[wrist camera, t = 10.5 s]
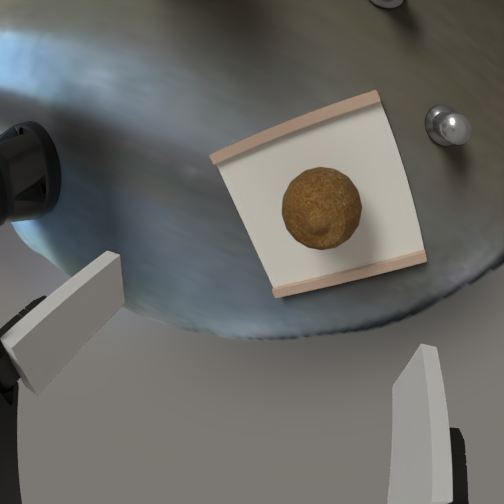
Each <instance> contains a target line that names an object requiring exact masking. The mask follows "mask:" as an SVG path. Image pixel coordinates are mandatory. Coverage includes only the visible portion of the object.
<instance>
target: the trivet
mask: <svg viewBox="0 0 504 504" xmlns="http://www.w3.org/2000/svg"><path fill="white" fill-rule="evenodd" d="M380 101H381V100H380V98H379V95H378V93H377V90H374V91H371V92H368V93H365V94H362V95H359V96H356V97H353V98H350V99H347V100H344V101H341V102H338V103H335V104H332V105H329V106H326V107H324V108H321V109H318V110H315V111H313V112H310V113H307V114H305V115H302V116H299V117H297V118H294V119H292V120H289V121H287V122H284V123H282V124H279V125H277V126H274V127H272V128H269V129H267V130H265V131H262V132H260V133H257V134H255V135H253V136H250V137H248V138H246V139H244V140H241V141H239V142H237V143H235V144H232V145H230V146H228V147H226V148H224V149H221V150H219V151H217V152H215V153H213V154H211V155H209V156H210V158H211V160H212V163H213V165H214V164H217V166H218V169H219V171H220V173H221V175H222V177H223V179H224V182H225V184H226V186H227V188H228V190H229V192H230V195H231V197H232V199H233V201H234V203H235V205H236V208H237V210H238V212H239V214H240V216H241V218H242V221H243V223H244V225H245V227H246V229H247V231H248V234H249V236H250V238H251V240H252V242H253V244H254V247H255V249H256V251H257V253H258V255H259V258H260V260H261V262H262V264H263V266H264V268H265V271H266V273H267V275H268V277H269V279H270V282H271V284H272V286H273V289H272V292H273V294H274V296H275V298H279V297H283V296H288V295H293V294H297V293H302V292H306V291H311V290H315V289H319V288H324V287H328V286H332V285H337V284H341V283H345V282H349V281H354V280H358V279H362V278H366V277H370V276H374V275H378V274H382V273H386V272H390V271H393V270H397V269H401V268H405V267H409V266H412V265H416V264H420V263H423V262H427V259H426V253H425V250H424V246H423V241H422V236H421V232H420V227H419V223H418V219H417V215H416V211H415V207H414V203H413V199H412V195H411V191H410V188H409V184H408V181H407V177H406V174H405V170H404V167H403V164H402V161H401V158H400V154H399V151H398V148H397V145H396V142H395V139H394V137H393V134H392V131H391V128H390V125H389V123H388V120H387V117H386V115H385V112H384V109H383V107H382V104H381V102H380ZM316 167H326V168H332V169H336V170H338V171H339V172H341V173H343V174H344V175H346V176H348V177H349V178H350V180H351V181H352V182H353V184H354V185H355V186H356V188H357V189H358V191H359V195H360V199H361V204H362V211H361V217H360V222H359V226H358V227H357V229H356V230H355V232H354V233H353V235H352V236H351V238H350V239H349V240H347V241H346V242H344V243H343V244H341V245H340V246H338V247H336V248H331V249H326V250H317V249H312V248H308V247H306V246H304V245H302V244H301V243H299V242H297V241H296V240H295V239H294V238H293V237H292V235H291V234H290V233H289V232H288V231H287V229H286V226H285V223H284V220H283V217H282V200H283V196H284V193H285V192H286V190H287V188H288V186H289V184H290V182H291V181H292V180H293V179H295V178H296V177H297V176H298V175H300V174H301V173H302V172H304V171H305V170H308V169H312V168H316Z"/></svg>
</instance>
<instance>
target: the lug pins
mask: <svg viewBox="0 0 504 504" xmlns="http://www.w3.org/2000/svg"><path fill="white" fill-rule="evenodd" d="M370 1H371V2H372V3H373V4H375V5H376V6H378V7H381V8H386V9H392V8H396V7H398V6H400V5H401V4H402V3H403V1H404V0H370ZM425 127H426V131H427V133H428V135H429V136H430V138H431V139H432V140H433V141H435V142H436V143H438V144H440V145H443V146H450V145H453V144H457V145H461V144H464V143H466V142H467V141H468V140H469V138H470V135H471V126H470V123H469V121H468V120H467V119H466V118H465V117H464V116H463V115H460V114H458V113H457V111H456V110H454V109H453V108H451V107H449V106H446V105H437V106H435V107H433V108H431V109H430V110H429V112H428V113H427V115H426V119H425Z"/></svg>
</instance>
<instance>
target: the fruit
mask: <svg viewBox="0 0 504 504" xmlns="http://www.w3.org/2000/svg"><path fill="white" fill-rule="evenodd" d="M361 211H362V204H361V199H360V195H359V191H358V189H357V188H356V186H355V185H354V184H353V182H352V181H351V180H350V178H349V177H348V176H346V175H344V174H343V173H341V172H339V171H338V170H336V169H332V168H326V167H316V168H312V169H308V170H305V171H304V172H302V173H301V174H300V175H298V176H297V177H296V178H295V179H293V180H292V181H291V182H290V184H289V186H288V188H287V190H286V192H285V193H284V196H283V200H282V217H283V220H284V223H285V226H286V229H287V231H288V232H289V233H290V234H291V235H292V237H293V238H294V239H295V240H296V241H297V242H299V243H301V244H302V245H304V246H306V247H308V248H312V249H317V250H326V249H331V248H336V247H338V246H340V245H341V244H343V243H344V242H346V241H347V240H349V239H350V238H351V236H352V235H353V233H354V232H355V230H356V229H357V227H358V226H359V222H360V217H361Z"/></svg>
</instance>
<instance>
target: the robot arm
mask: <svg viewBox="0 0 504 504" xmlns="http://www.w3.org/2000/svg"><path fill="white" fill-rule="evenodd" d="M59 190H60V170H59V163H58V159H57V155H56V151H55V148H54V146H53V143H52V141H51V139H50V137H49V135H48V134H47V132H46V131H45V130H44V129H43V128H42V127H41V126H40V125H39V124H37V123H35V122H32V121H27V122H23V123H20V124H16V125H14V126H12V127H11V128H9V129H8V130H7V131H5V132H4V133H2V134H1V135H0V226H1V225H3V224H5V223H8V222H16V221H25V220H33V219H37V218H40V217H42V216H43V215H45V214H47V213H49V212H50V211H51V210H52V209H53V208H54V206H55V205H56V202H57V200H58V196H59ZM124 304H125V298H124V290H123V281H122V271H121V260H120V255H119V254H116V253H113V252H110V251H106V252H104V253H103V254H102V255H100V256H99V257H98V258H96V259H95V260H94V261H92V262H91V263H90V264H88V265H87V266H86V267H85V268H83V269H82V270H81V271H79V272H78V273H77V274H75V275H74V276H73V277H72V278H70V279H69V280H68V281H67V282H65V283H64V284H63V285H62V286H60V287H59V288H58V289H57V290H55V291H54V292H53V293H52V294H51V295H49V296H48V297H46V296H42V297H40V298H38V299H36V300H34V301H32V302H31V303H30V304H29V305H28V306H26V307H25V309H23V310H22V311H20V312H19V314H18V315H16V316H14V317H13V318H12V319H11V320H10V321H9V322H8V323H6V324H5V325H4V326H3V327H2V328H1V329H0V504H22V501H21V493H20V485H19V474H18V473H19V472H18V457H17V456H18V455H17V407H18V389H19V387H18V382H17V381H18V379H19V378H21V379H22V381H23V383H24V385H25V386H26V387H27V388H28V389H29V390H31V391H32V392H33V393H35V394H36V395H37V396H38V395H39V394H40V393H41V392H42V391H43V389H44V388H45V387H46V386H47V385H48V384H49V383H50V382H51V381H52V379H53V378H54V377H55V376H56V375H57V374H58V373H59V372H60V371H61V370H62V368H63V367H64V366H65V365H66V364H67V363H68V362H69V361H70V360H71V359H72V358H73V357H74V355H75V354H76V353H77V352H78V351H79V350H80V349H81V348H82V347H83V346H84V345H85V344H86V343H87V342H88V341H89V340H90V338H91V337H92V336H93V335H94V334H95V333H96V332H97V331H98V330H99V329H100V328H101V327H102V326H103V325H104V324H105V323H106V322H107V321H108V320H109V319H110V318H111V317H112V316H113V315H114V314H115V313H116V312H117V311H118V310H119V309H120V308H121V307H122V306H123V305H124ZM387 504H469V503H468V482H467V466H466V455H465V443H464V439H463V436H462V434H461V432H460V430H459V428H449V423H448V414H447V406H446V398H445V392H444V385H443V379H442V373H441V368H440V362H439V357H438V352H437V347H433V346H429V345H425V344H420V346H419V348H418V349H417V351H416V352H415V354H414V355H413V357H412V358H411V360H410V361H409V363H408V364H407V366H406V367H405V369H404V371H403V372H402V373H401V375H400V376H399V378H398V379H397V380H396V382H395V383H394V385H393V427H392V454H391V469H390V482H389V493H388V502H387Z"/></svg>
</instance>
